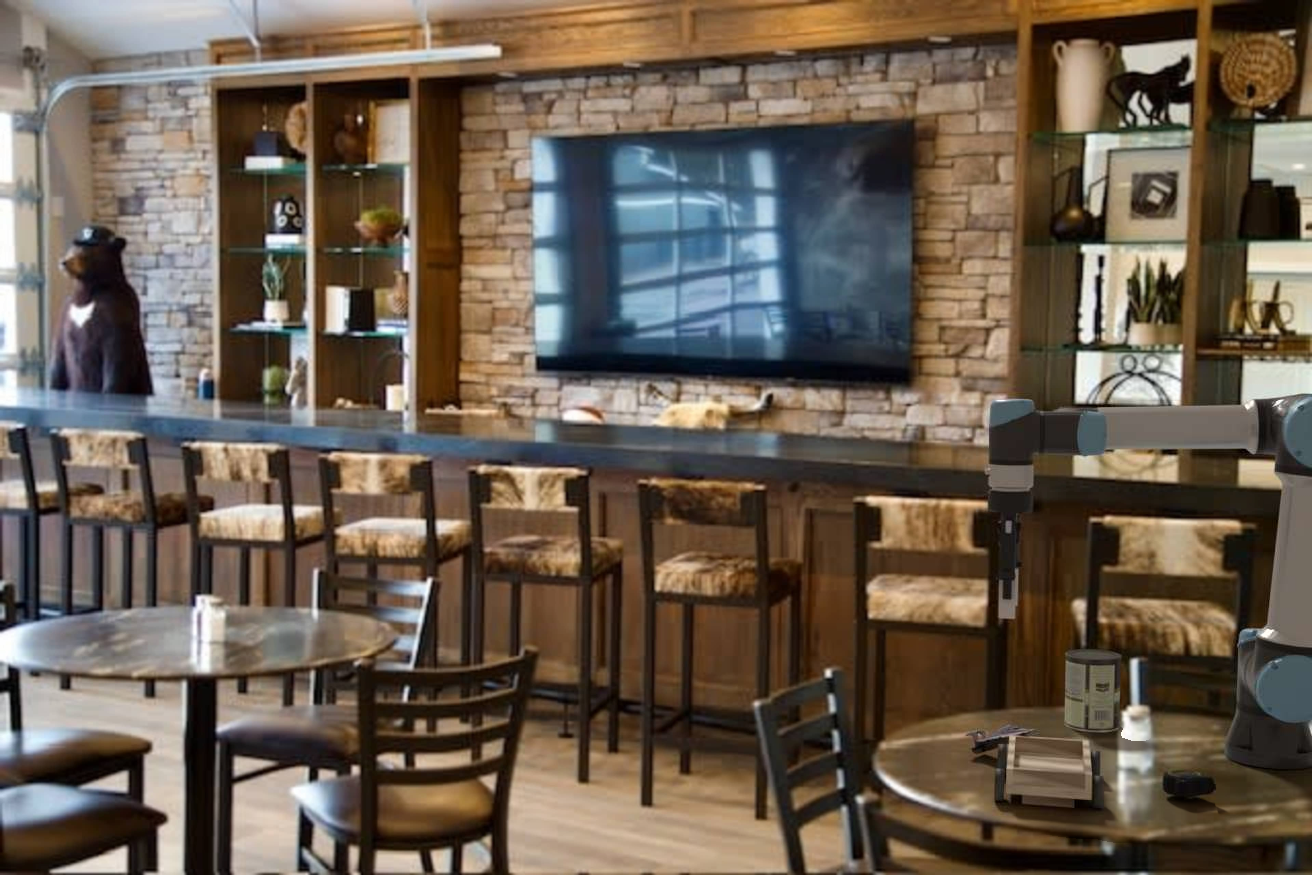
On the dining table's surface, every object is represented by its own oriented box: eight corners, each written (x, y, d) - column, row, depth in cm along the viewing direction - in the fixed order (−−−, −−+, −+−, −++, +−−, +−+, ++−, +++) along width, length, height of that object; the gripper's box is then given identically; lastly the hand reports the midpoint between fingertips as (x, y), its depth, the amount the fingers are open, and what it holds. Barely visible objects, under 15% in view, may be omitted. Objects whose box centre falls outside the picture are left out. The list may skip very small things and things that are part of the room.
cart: (998, 768, 277) (998, 734, 277) (1098, 775, 273) (1099, 740, 273) (993, 804, 256) (994, 767, 255) (1103, 813, 252) (1104, 775, 251)
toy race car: (1044, 734, 279) (1038, 711, 280) (1024, 735, 275) (1018, 711, 276) (987, 753, 288) (981, 731, 289) (966, 754, 284) (961, 731, 286)
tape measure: (1181, 802, 256) (1181, 778, 256) (1153, 793, 262) (1153, 770, 262) (1216, 798, 258) (1216, 775, 258) (1187, 790, 265) (1187, 767, 265)
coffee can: (1089, 718, 314) (1091, 646, 313) (1131, 730, 306) (1133, 656, 305) (1051, 725, 309) (1053, 651, 308) (1092, 736, 300) (1095, 661, 299)
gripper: (991, 481, 291) (989, 599, 292) (984, 495, 267) (982, 622, 268) (1034, 483, 289) (1032, 600, 291) (1031, 496, 265) (1028, 624, 266)
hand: (1008, 611), depth 279 cm, fingers open, 13 cm apart
